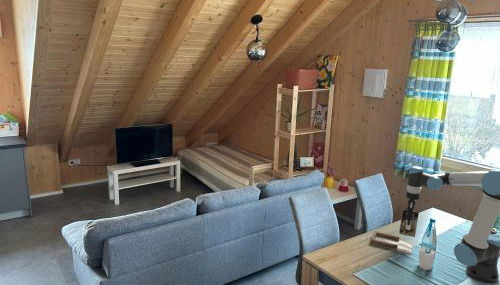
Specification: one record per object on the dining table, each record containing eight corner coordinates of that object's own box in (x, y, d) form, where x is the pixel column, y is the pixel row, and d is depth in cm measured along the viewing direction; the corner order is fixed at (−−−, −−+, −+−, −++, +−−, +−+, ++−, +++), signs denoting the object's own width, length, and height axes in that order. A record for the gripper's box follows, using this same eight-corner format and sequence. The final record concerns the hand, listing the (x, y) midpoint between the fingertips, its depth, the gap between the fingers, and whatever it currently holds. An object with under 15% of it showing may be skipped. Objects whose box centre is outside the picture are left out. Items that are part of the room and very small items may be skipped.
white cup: (435, 270, 205) (438, 253, 203) (423, 271, 204) (425, 254, 201) (427, 262, 212) (429, 246, 210) (414, 263, 211) (416, 247, 209)
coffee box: (399, 234, 227) (402, 210, 223) (399, 230, 232) (402, 206, 229) (415, 237, 223) (418, 212, 220) (415, 233, 229) (418, 209, 225)
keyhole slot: (410, 254, 221) (411, 249, 220) (370, 244, 231) (370, 240, 230) (412, 243, 235) (413, 239, 234) (374, 234, 245) (374, 230, 245)
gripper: (419, 198, 211) (414, 235, 217) (420, 188, 229) (415, 222, 234) (405, 195, 215) (400, 232, 220) (407, 186, 232) (403, 220, 237)
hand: (408, 227), depth 227 cm, fingers closed on coffee box, 7 cm apart
